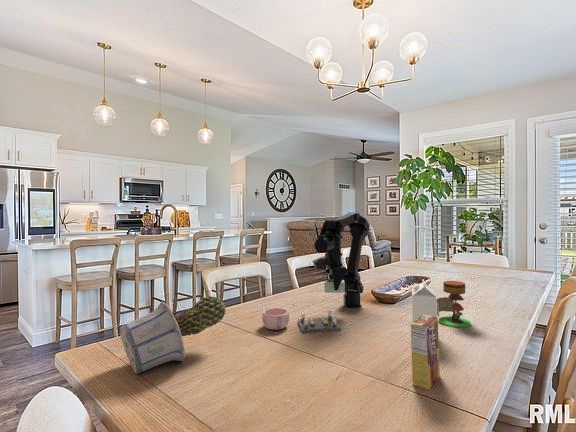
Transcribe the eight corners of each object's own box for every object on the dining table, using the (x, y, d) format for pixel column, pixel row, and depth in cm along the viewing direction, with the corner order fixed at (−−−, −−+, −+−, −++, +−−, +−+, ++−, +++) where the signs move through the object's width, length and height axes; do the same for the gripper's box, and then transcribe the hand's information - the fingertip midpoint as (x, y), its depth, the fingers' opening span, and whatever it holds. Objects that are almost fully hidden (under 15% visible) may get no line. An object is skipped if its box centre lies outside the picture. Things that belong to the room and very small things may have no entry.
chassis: (333, 320, 129) (333, 309, 129) (340, 330, 118) (340, 319, 118) (297, 321, 128) (297, 311, 128) (301, 332, 117) (301, 321, 117)
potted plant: (125, 331, 81) (229, 283, 100) (109, 317, 95) (204, 277, 113) (146, 395, 83) (244, 336, 102) (128, 372, 97) (217, 324, 116)
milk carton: (434, 335, 112) (434, 279, 111) (436, 344, 105) (436, 284, 105) (412, 333, 114) (411, 278, 114) (412, 341, 107) (412, 283, 107)
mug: (293, 329, 120) (293, 313, 120) (267, 334, 116) (267, 317, 116) (281, 319, 131) (281, 304, 131) (257, 323, 127) (257, 308, 127)
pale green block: (344, 289, 137) (343, 278, 137) (344, 292, 132) (344, 281, 132) (324, 289, 138) (324, 278, 137) (324, 292, 133) (324, 281, 132)
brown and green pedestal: (476, 321, 125) (476, 281, 125) (467, 330, 116) (466, 287, 115) (443, 314, 133) (443, 277, 133) (432, 323, 124) (431, 283, 124)
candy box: (422, 370, 88) (422, 313, 88) (440, 376, 85) (439, 316, 85) (410, 384, 81) (410, 323, 81) (429, 390, 79) (428, 326, 78)
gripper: (310, 248, 143) (310, 284, 143) (318, 253, 124) (319, 295, 124) (335, 247, 144) (336, 283, 144) (347, 252, 125) (348, 294, 126)
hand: (334, 288), depth 135 cm, fingers closed on pale green block, 5 cm apart
